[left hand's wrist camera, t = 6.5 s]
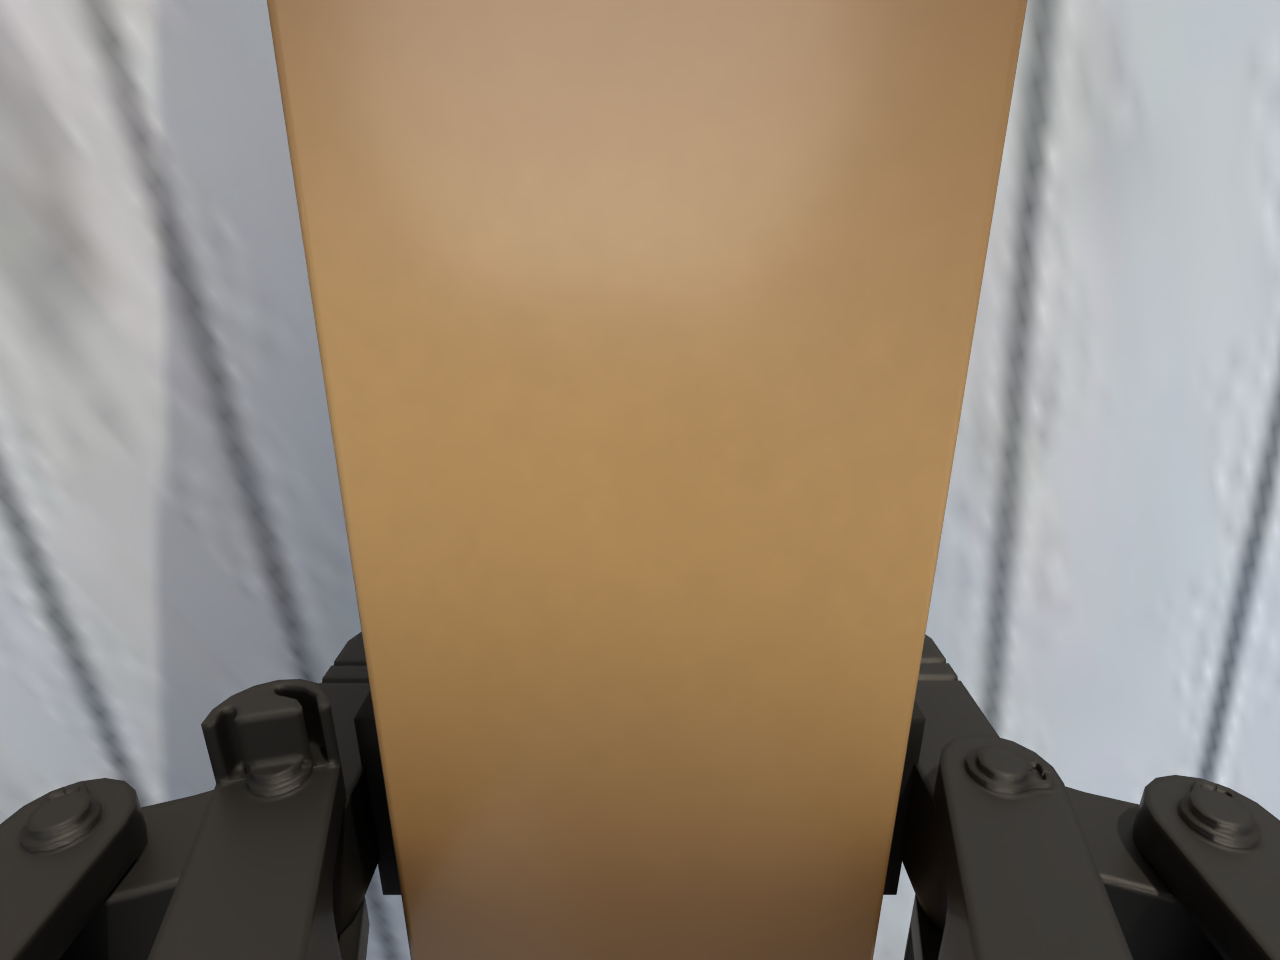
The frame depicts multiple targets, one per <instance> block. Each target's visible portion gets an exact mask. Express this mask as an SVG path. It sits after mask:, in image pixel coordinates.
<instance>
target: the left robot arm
mask: <svg viewBox="0 0 1280 960" xmlns="http://www.w3.org/2000/svg"><path fill="white" fill-rule="evenodd" d="M957 677H958V676H957V675H956V673H955V672H954V670H953V669H952V668H951V666H950V665H949V663H946V659H945V657H944V656H943V655H942V653H941V652H940V650H939V649H938V647H937V646H936V644H935V643H934V641H933V640H932V639H931V638H930V637H928V636H927V635H926V634H925V638H924V644H923V650H922V657H921V663H920V669H919V675H918V681H917V688H916V694H915V700H914V706H913V712H912V719H911V725H910V731H909V737H908V743H907V750H906V756H905V762H904V768H903V774H902V781H901V787H900V793H899V799H898V805H897V812H896V818H895V824H894V830H893V837H892V843H891V849H890V855H889V861H888V868H887V874H886V880H885V886H884V892H883V895H896V894H897V888H898V882H899V876H900V870H901V864H902V862H903V864H904V867H905V869H906V871H907V874H908V876H909V879H910V881H911V884H912V886H913V889H914V891H915V900H914V906H913V911H912V917H911V922H910V928H909V933H908V939H907V944H906V950H905V957H904V960H1280V820H1278V819H1277V818H1276V817H1274V816H1273V815H1272V814H1271V813H1269V812H1268V811H1267V810H1265V809H1264V808H1263V807H1262V806H1260V805H1259V804H1258V803H1256V802H1254V801H1252V800H1251V799H1249V798H1247V797H1245V796H1243V795H1241V794H1239V793H1237V792H1235V791H1234V790H1232V789H1230V788H1227V787H1224V786H1222V785H1219V784H1215V783H1213V782H1210V781H1207V780H1204V779H1201V778H1194V777H1186V776H1179V775H1172V776H1165V777H1159V778H1155V779H1154V780H1153V781H1152V782H1150V783H1149V784H1148V785H1147V786H1146V787H1145V789H1144V792H1143V795H1142V799H1141V802H1140V805H1138V804H1134V803H1130V802H1125V801H1121V800H1116V799H1112V798H1108V797H1103V796H1099V795H1094V794H1090V793H1085V792H1082V791H1079V790H1075V789H1072V788H1069V787H1065V785H1064V783H1063V781H1062V780H1061V778H1060V777H1059V775H1058V774H1057V772H1056V771H1055V769H1054V768H1053V767H1052V766H1051V765H1050V764H1049V763H1047V762H1046V761H1045V760H1044V759H1042V758H1041V757H1040V756H1039V755H1038V754H1036V753H1035V752H1033V751H1031V750H1029V749H1027V748H1025V747H1023V746H1021V745H1019V744H1017V743H1015V742H1013V741H1010V740H1006V739H1002V738H1000V737H999V736H998V734H997V733H996V731H995V730H994V729H993V727H992V726H991V724H990V723H989V721H988V720H987V718H986V717H985V715H984V714H983V713H982V711H981V710H980V708H979V707H978V705H977V704H976V702H975V701H974V700H973V698H972V697H971V695H970V694H969V692H968V691H967V689H966V688H965V686H964V685H963V684H962V682H961V681H958V678H957ZM201 726H202V730H203V734H204V738H205V741H206V745H207V749H208V753H209V757H210V761H211V765H212V769H213V772H214V776H215V780H216V786H215V789H214V790H211V791H208V792H205V793H201V794H198V795H194V796H190V797H186V798H181V799H177V800H173V801H168V802H164V803H159V804H155V805H151V806H146V807H142V808H141V807H140V804H139V800H138V797H137V794H136V791H135V790H134V789H133V788H132V787H131V786H130V785H129V784H127V783H126V782H125V781H121V780H114V779H108V778H102V779H95V780H88V781H81V782H77V783H74V784H71V785H68V786H66V787H62V788H59V789H57V790H54V791H51V792H49V793H47V794H45V795H44V796H42V797H40V798H38V799H36V800H34V801H32V802H30V803H29V804H27V805H25V806H23V807H22V808H21V809H19V810H18V811H17V812H15V813H14V814H13V815H12V816H10V817H9V818H8V819H7V820H5V821H4V822H3V823H1V824H0V960H366V953H367V943H368V933H369V919H368V912H367V906H366V900H365V894H366V891H367V889H368V886H369V884H370V881H371V879H372V876H373V874H374V872H375V869H376V867H377V864H378V867H379V873H380V879H381V885H382V891H383V895H401V888H400V882H399V875H398V869H397V862H396V855H395V849H394V842H393V835H392V829H391V822H390V815H389V809H388V802H387V795H386V789H385V782H384V775H383V769H382V762H381V756H380V749H379V742H378V736H377V729H376V722H375V716H374V709H373V702H372V696H371V689H370V682H369V676H368V669H367V662H366V656H365V649H364V643H363V636H362V632H360V633H359V634H358V635H356V636H355V637H353V638H352V639H351V640H349V641H348V642H347V644H346V645H345V647H344V648H343V650H342V651H341V653H340V654H339V655H338V657H337V658H336V660H335V661H334V666H331V667H330V669H329V670H328V671H327V673H326V674H325V676H324V677H323V681H322V683H319V684H318V683H314V682H310V681H306V680H302V679H292V680H277V681H272V682H268V683H264V684H260V685H256V686H253V687H251V688H248V689H246V690H244V691H242V692H239V693H237V694H235V695H233V696H231V697H229V698H228V699H227V700H225V701H224V702H222V703H221V704H220V705H218V706H217V707H215V708H214V709H213V710H212V711H211V712H210V714H209V715H208V716H207V718H206V719H205V720H204V721H203V723H202V724H201Z"/></svg>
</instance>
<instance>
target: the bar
mask: <svg viewBox="0 0 1280 960" xmlns="http://www.w3.org/2000/svg"><path fill="white" fill-rule="evenodd" d="M267 4H268V11H269V18H270V24H271V31H272V38H273V44H274V51H275V58H276V64H277V71H278V78H279V84H280V91H281V97H282V104H283V111H284V117H285V124H286V131H287V137H288V144H289V151H290V157H291V164H292V171H293V177H294V184H295V191H296V197H297V204H298V210H299V217H300V224H301V230H302V237H303V244H304V250H305V257H306V264H307V270H308V277H309V284H310V290H311V297H312V304H313V310H314V317H315V323H316V330H317V337H318V343H319V350H320V357H321V363H322V370H323V377H324V383H325V390H326V397H327V403H328V410H329V417H330V423H331V430H332V436H333V443H334V450H335V456H336V463H337V470H338V476H339V483H340V490H341V496H342V503H343V510H344V516H345V523H346V530H347V536H348V543H349V549H350V556H351V563H352V569H353V576H354V583H355V589H356V596H357V603H358V609H359V616H360V623H361V629H362V636H363V643H364V649H365V656H366V662H367V669H368V676H369V682H370V689H371V696H372V702H373V709H374V716H375V722H376V729H377V736H378V742H379V749H380V756H381V762H382V769H383V775H384V782H385V789H386V795H387V802H388V809H389V815H390V822H391V829H392V835H393V842H394V849H395V855H396V862H397V869H398V875H399V882H400V888H401V895H402V902H403V908H404V915H405V922H406V928H407V935H408V942H409V948H410V955H411V960H873V954H874V948H875V942H876V936H877V930H878V923H879V917H880V911H881V905H882V899H883V892H884V886H885V880H886V874H887V868H888V861H889V855H890V849H891V843H892V837H893V830H894V824H895V818H896V812H897V805H898V799H899V793H900V787H901V781H902V774H903V768H904V762H905V756H906V750H907V743H908V737H909V731H910V725H911V719H912V712H913V706H914V700H915V694H916V688H917V681H918V675H919V669H920V663H921V657H922V650H923V644H924V638H925V632H926V626H927V619H928V613H929V607H930V601H931V595H932V588H933V582H934V576H935V570H936V564H937V557H938V551H939V545H940V539H941V533H942V526H943V520H944V514H945V508H946V502H947V495H948V489H949V483H950V477H951V471H952V464H953V458H954V452H955V446H956V440H957V433H958V427H959V421H960V415H961V409H962V402H963V396H964V390H965V384H966V378H967V371H968V365H969V359H970V353H971V347H972V340H973V334H974V328H975V322H976V316H977V309H978V303H979V297H980V291H981V285H982V278H983V272H984V266H985V260H986V253H987V247H988V241H989V235H990V229H991V222H992V216H993V210H994V204H995V198H996V191H997V185H998V179H999V173H1000V167H1001V160H1002V154H1003V148H1004V142H1005V136H1006V129H1007V123H1008V117H1009V111H1010V105H1011V98H1012V92H1013V86H1014V80H1015V74H1016V67H1017V61H1018V55H1019V49H1020V43H1021V36H1022V30H1023V24H1024V18H1025V12H1026V5H1027V0H267Z"/></svg>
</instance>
